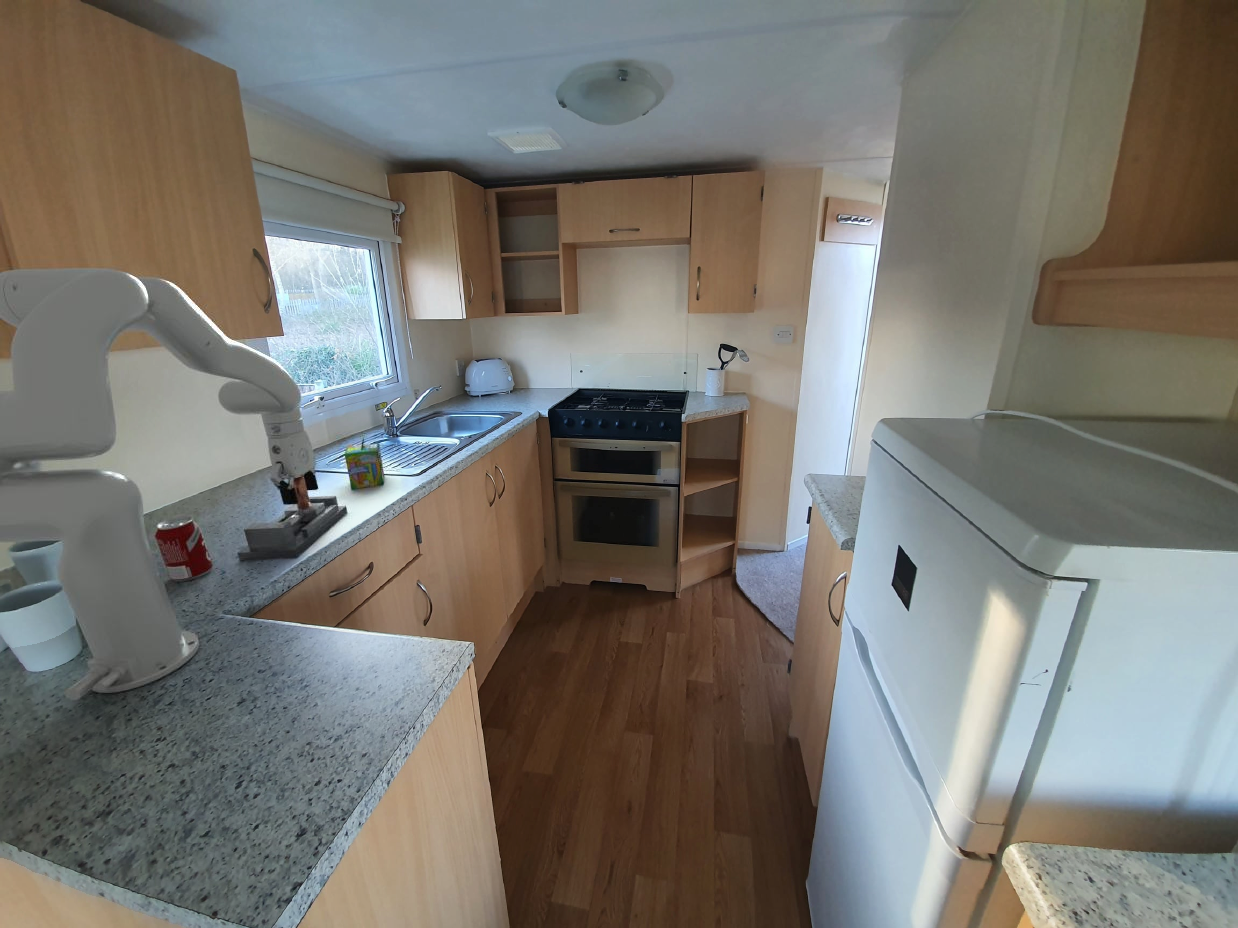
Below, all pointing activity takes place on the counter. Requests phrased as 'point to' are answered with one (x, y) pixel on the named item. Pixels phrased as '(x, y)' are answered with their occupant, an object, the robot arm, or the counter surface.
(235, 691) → the counter surface
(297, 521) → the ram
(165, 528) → the soda can
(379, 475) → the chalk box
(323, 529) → the base
